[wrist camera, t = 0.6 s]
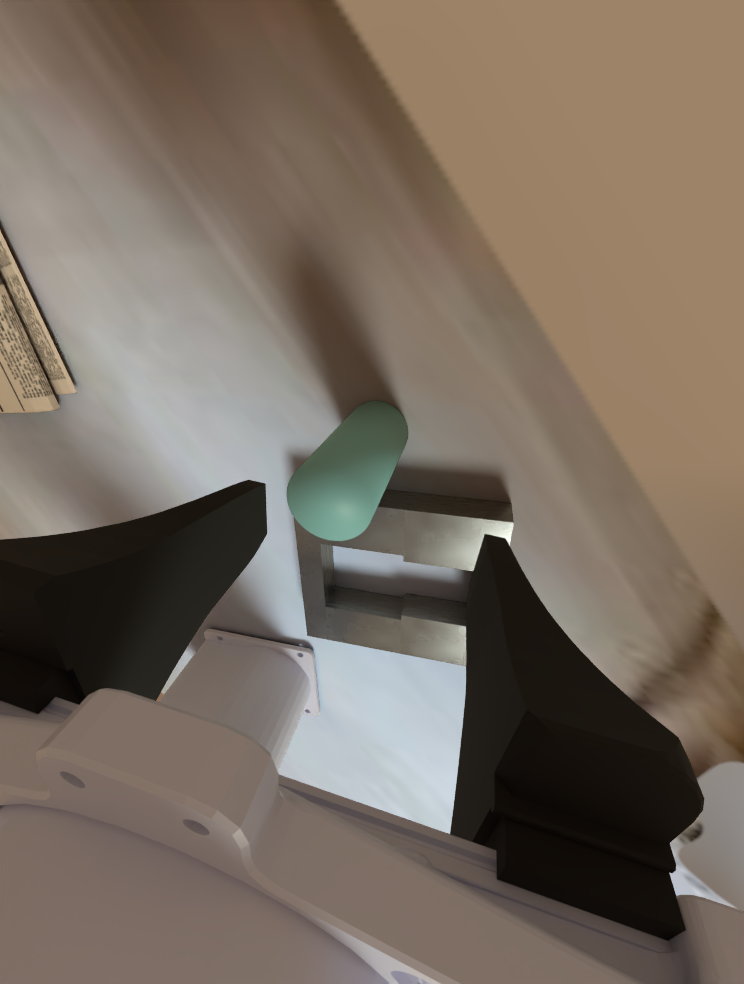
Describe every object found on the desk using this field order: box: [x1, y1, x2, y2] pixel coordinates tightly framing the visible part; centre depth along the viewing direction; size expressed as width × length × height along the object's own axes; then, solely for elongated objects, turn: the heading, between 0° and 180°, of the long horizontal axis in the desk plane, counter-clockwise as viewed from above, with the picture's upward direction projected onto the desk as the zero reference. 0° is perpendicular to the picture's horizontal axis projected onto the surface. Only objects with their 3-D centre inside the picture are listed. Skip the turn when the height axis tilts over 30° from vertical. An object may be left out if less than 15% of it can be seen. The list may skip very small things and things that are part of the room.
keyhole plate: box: [294, 490, 514, 666], centre depth 25 cm, size 12×11×2 cm
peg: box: [287, 401, 408, 541], centre depth 19 cm, size 3×3×8 cm
